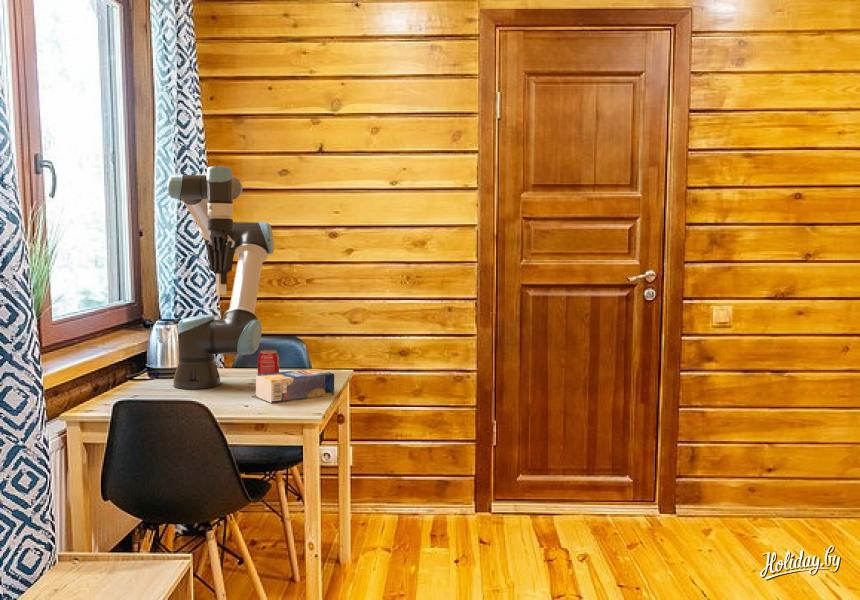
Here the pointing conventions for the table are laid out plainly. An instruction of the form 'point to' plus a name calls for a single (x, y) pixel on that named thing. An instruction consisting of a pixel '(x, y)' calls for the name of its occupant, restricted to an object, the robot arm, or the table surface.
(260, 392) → the cardboard food box
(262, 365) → the soda can
